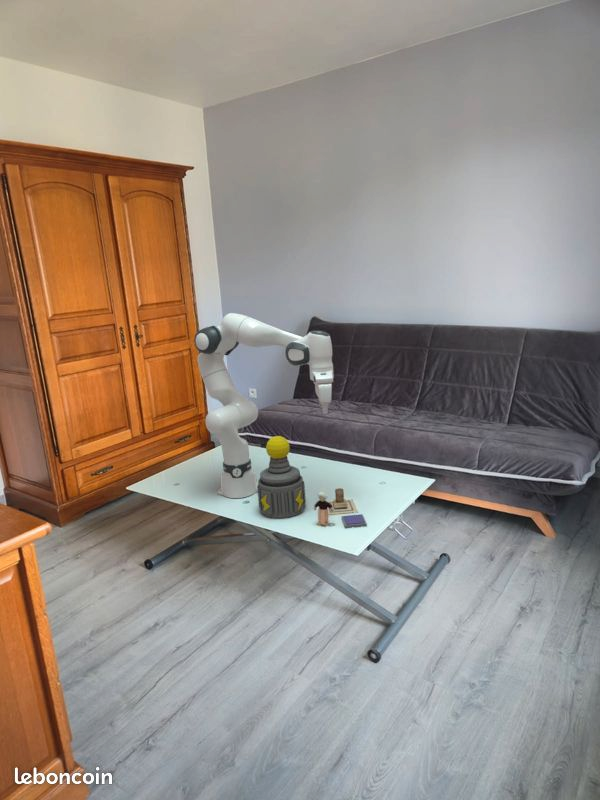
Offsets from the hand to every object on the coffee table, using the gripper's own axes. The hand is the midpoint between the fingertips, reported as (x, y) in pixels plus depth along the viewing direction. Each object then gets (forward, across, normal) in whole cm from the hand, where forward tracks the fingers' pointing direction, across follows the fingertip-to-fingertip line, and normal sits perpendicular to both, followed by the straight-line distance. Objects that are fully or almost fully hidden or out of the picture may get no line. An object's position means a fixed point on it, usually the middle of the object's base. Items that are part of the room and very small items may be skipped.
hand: (323, 410), depth 205 cm
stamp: (+39, +3, +4) cm, 39 cm away
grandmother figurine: (+39, +16, -4) cm, 43 cm away
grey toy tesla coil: (+39, 0, -18) cm, 43 cm away
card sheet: (+39, +3, +4) cm, 39 cm away
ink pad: (+39, +17, +7) cm, 43 cm away
